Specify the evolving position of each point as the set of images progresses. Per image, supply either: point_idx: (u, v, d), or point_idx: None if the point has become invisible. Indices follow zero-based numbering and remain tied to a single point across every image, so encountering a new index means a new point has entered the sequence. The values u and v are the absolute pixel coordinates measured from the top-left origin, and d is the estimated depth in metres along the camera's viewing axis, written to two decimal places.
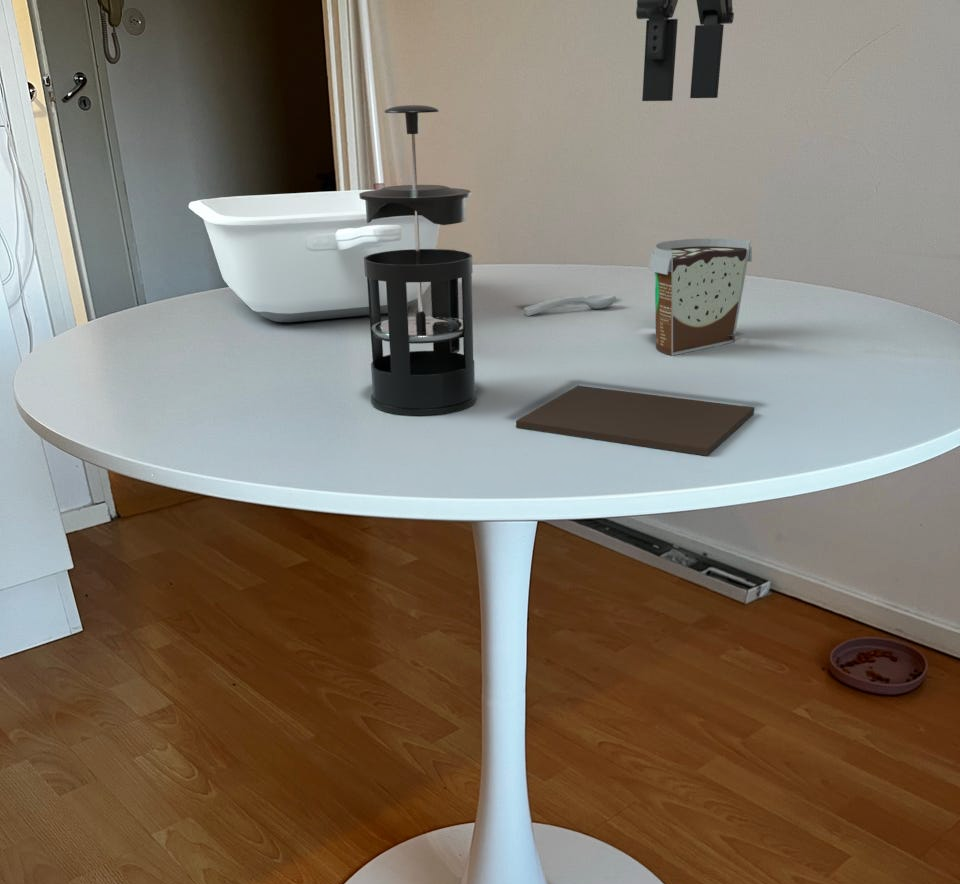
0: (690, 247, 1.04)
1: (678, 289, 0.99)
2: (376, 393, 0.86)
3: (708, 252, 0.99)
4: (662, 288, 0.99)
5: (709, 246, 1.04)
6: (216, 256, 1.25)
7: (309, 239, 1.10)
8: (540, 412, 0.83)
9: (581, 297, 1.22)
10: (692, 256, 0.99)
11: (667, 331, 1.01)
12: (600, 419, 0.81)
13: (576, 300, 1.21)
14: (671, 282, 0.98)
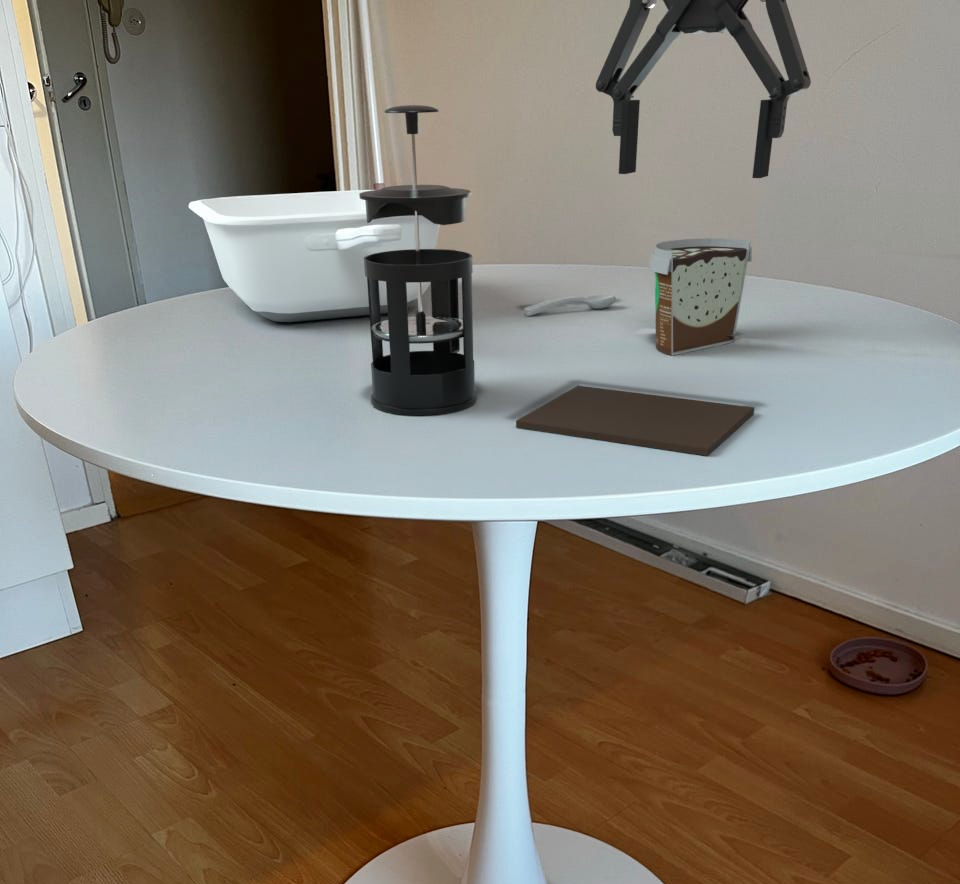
0: (690, 247, 1.04)
1: (678, 289, 0.99)
2: (376, 393, 0.86)
3: (708, 252, 0.99)
4: (662, 288, 0.99)
5: (709, 246, 1.04)
6: (216, 256, 1.25)
7: (309, 239, 1.10)
8: (540, 412, 0.83)
9: (581, 297, 1.22)
10: (692, 256, 0.99)
11: (667, 331, 1.01)
12: (600, 419, 0.81)
13: (576, 300, 1.21)
14: (671, 282, 0.98)
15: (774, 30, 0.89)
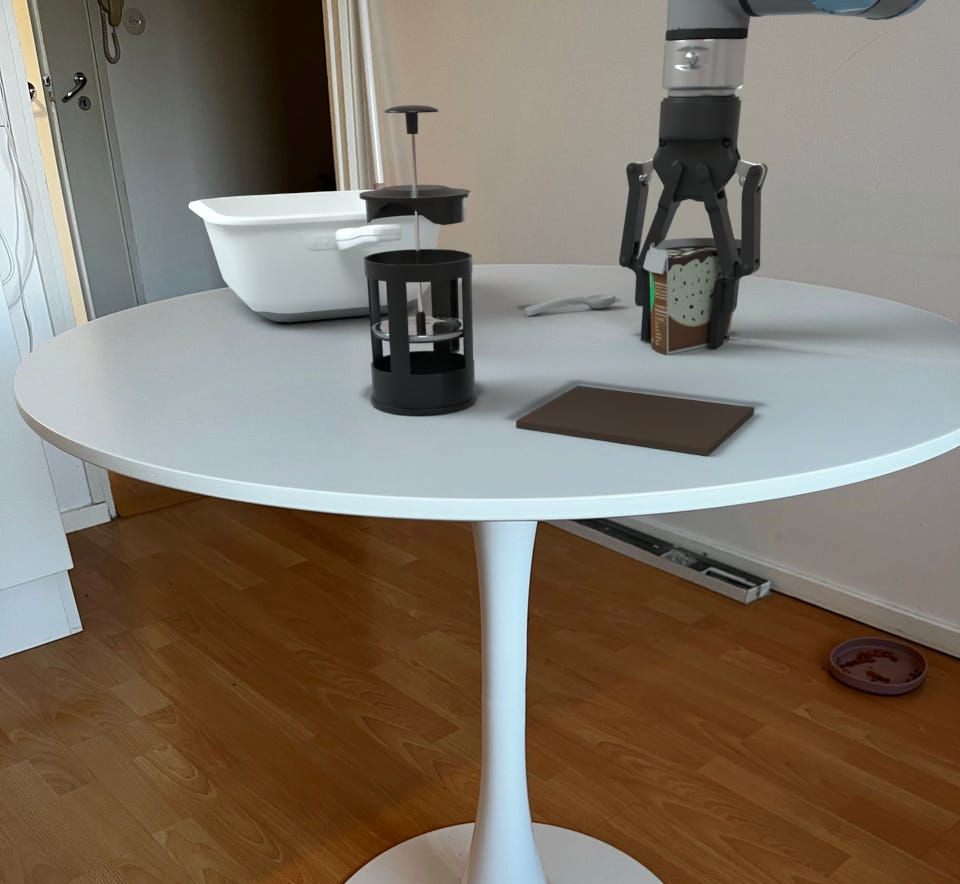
0: (684, 247, 1.04)
1: (674, 289, 0.99)
2: (376, 393, 0.86)
3: (703, 251, 1.00)
4: (657, 287, 1.00)
5: (703, 246, 1.04)
6: (216, 256, 1.25)
7: (309, 239, 1.10)
8: (540, 412, 0.83)
9: (581, 297, 1.22)
10: (687, 255, 0.99)
11: (662, 330, 1.01)
12: (600, 419, 0.81)
13: (576, 300, 1.21)
14: (667, 281, 0.98)
15: (742, 216, 0.97)
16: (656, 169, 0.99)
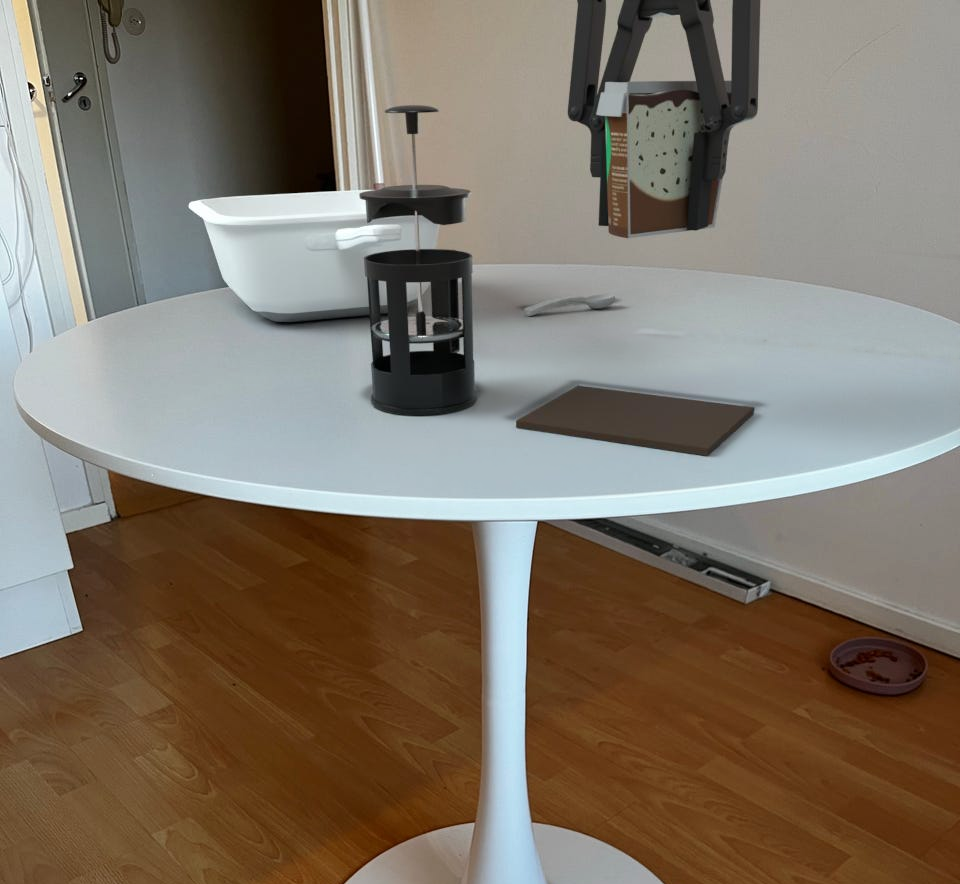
0: (655, 93, 0.76)
1: (637, 142, 0.71)
2: (376, 393, 0.86)
3: (679, 91, 0.71)
4: (615, 140, 0.71)
5: None
6: (216, 256, 1.25)
7: (309, 239, 1.10)
8: (540, 412, 0.83)
9: (581, 297, 1.22)
10: (656, 94, 0.70)
11: (622, 203, 0.73)
12: (600, 419, 0.81)
13: (576, 300, 1.21)
14: (627, 129, 0.70)
15: (733, 32, 0.68)
16: None
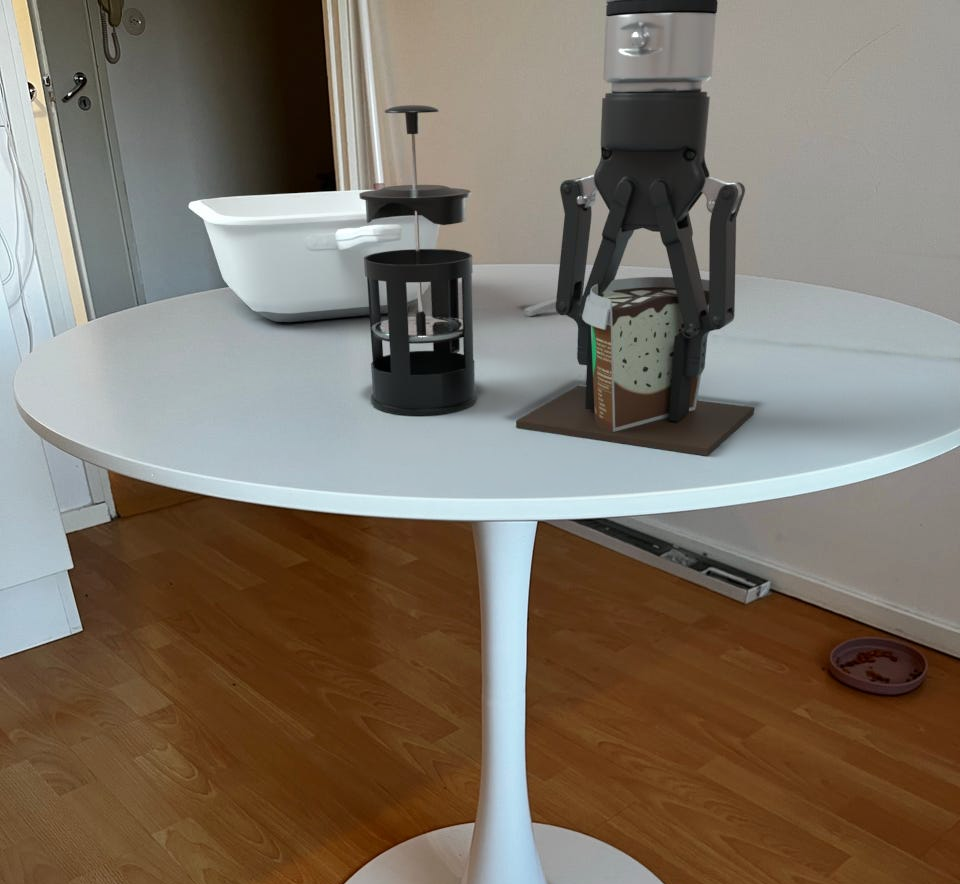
0: (638, 288, 0.80)
1: (621, 348, 0.75)
2: (376, 393, 0.86)
3: (660, 298, 0.76)
4: (600, 345, 0.75)
5: (663, 287, 0.80)
6: (216, 256, 1.25)
7: (309, 239, 1.10)
8: (540, 412, 0.83)
9: None
10: (639, 304, 0.75)
11: (607, 400, 0.77)
12: None
13: None
14: (611, 339, 0.74)
15: (710, 252, 0.72)
16: (599, 188, 0.75)
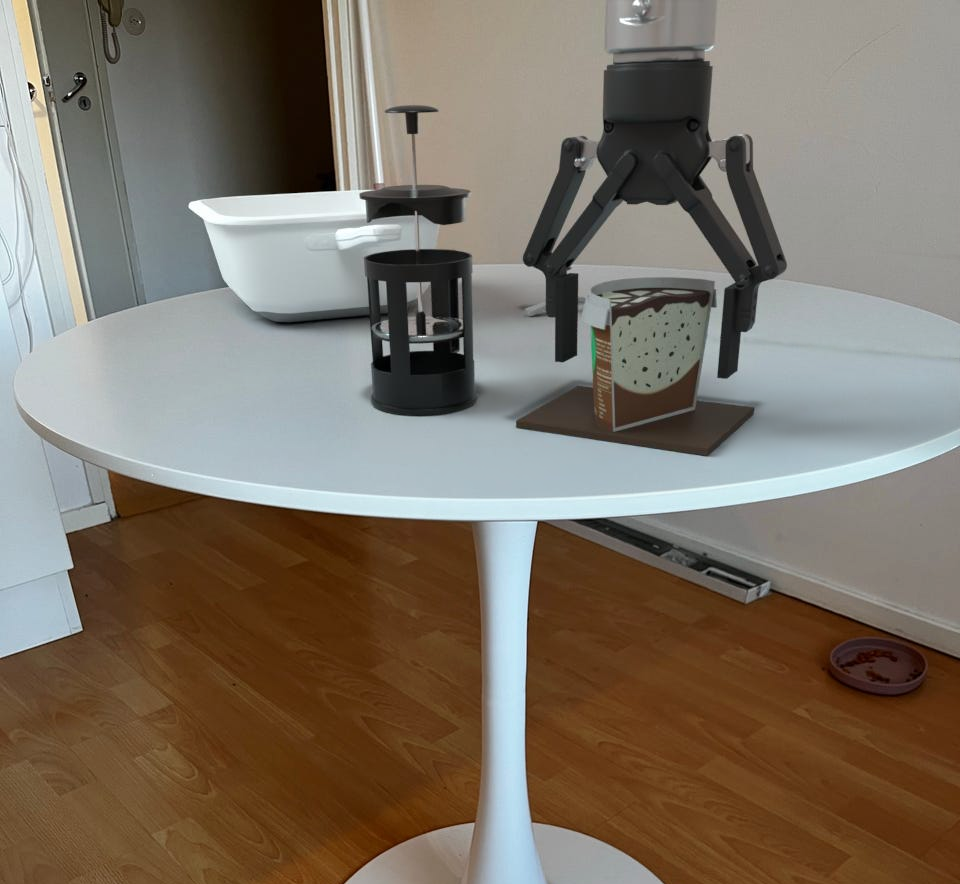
0: (637, 289, 0.80)
1: (620, 348, 0.75)
2: (376, 393, 0.86)
3: (659, 298, 0.76)
4: (599, 345, 0.75)
5: (662, 288, 0.80)
6: (216, 256, 1.25)
7: (309, 239, 1.10)
8: (540, 412, 0.83)
9: (581, 297, 1.22)
10: (638, 304, 0.75)
11: (607, 401, 0.77)
12: None
13: None
14: (611, 338, 0.74)
15: (738, 207, 0.70)
16: (598, 159, 0.74)
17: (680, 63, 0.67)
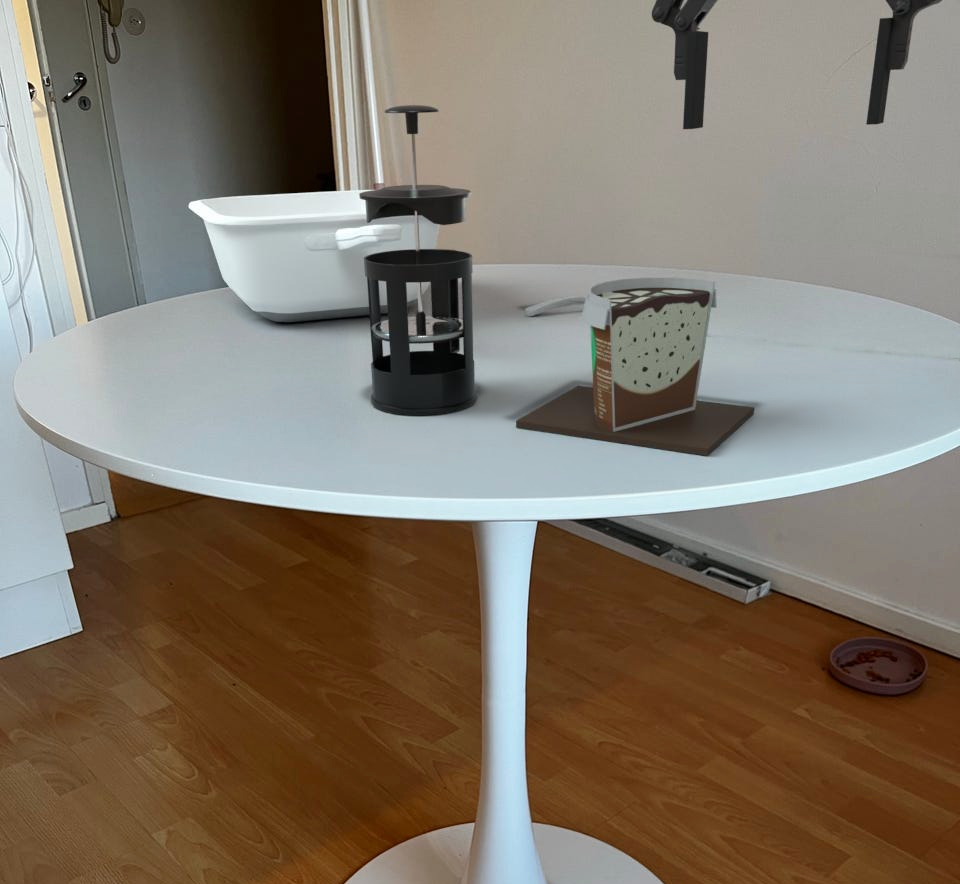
0: (637, 289, 0.80)
1: (620, 348, 0.75)
2: (376, 393, 0.86)
3: (659, 298, 0.76)
4: (599, 345, 0.75)
5: (662, 288, 0.80)
6: (216, 256, 1.25)
7: (309, 239, 1.10)
8: (540, 412, 0.83)
9: (581, 297, 1.22)
10: (638, 304, 0.75)
11: (607, 401, 0.77)
12: None
13: (576, 300, 1.21)
14: (611, 338, 0.74)
15: None
16: None
17: None
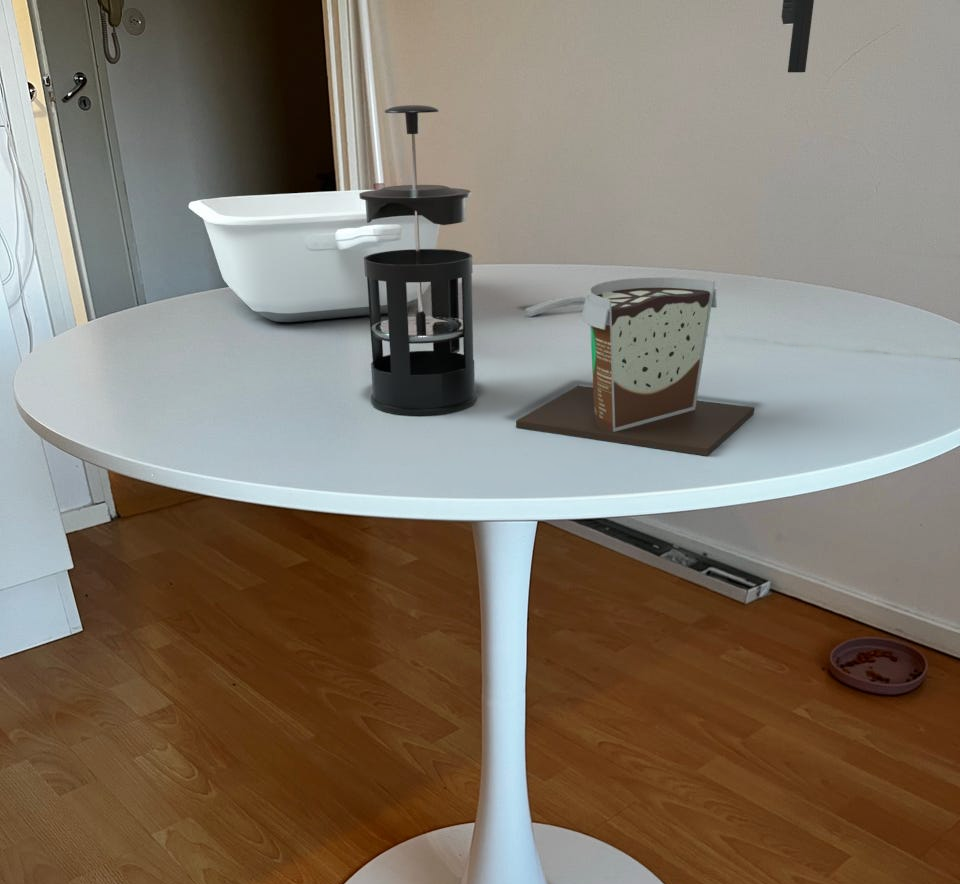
0: (637, 289, 0.80)
1: (620, 348, 0.75)
2: (376, 393, 0.86)
3: (659, 298, 0.76)
4: (599, 345, 0.75)
5: (662, 288, 0.80)
6: (216, 256, 1.25)
7: (309, 239, 1.10)
8: (540, 412, 0.83)
9: (581, 297, 1.22)
10: (638, 304, 0.75)
11: (607, 401, 0.77)
12: None
13: (576, 300, 1.21)
14: (611, 338, 0.74)
15: None
16: None
17: None
